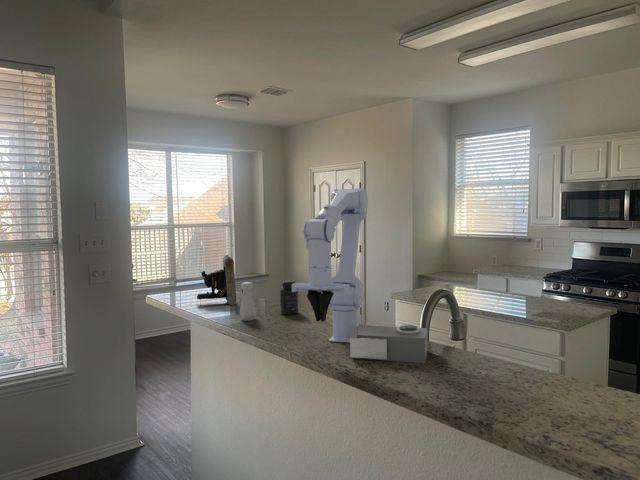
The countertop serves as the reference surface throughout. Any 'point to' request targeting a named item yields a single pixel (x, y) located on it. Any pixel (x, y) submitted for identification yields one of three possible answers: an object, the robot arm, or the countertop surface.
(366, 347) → the side door
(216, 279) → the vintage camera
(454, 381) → the countertop surface
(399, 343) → the camera housing
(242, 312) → the salt shaker
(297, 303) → the supplement bottle
